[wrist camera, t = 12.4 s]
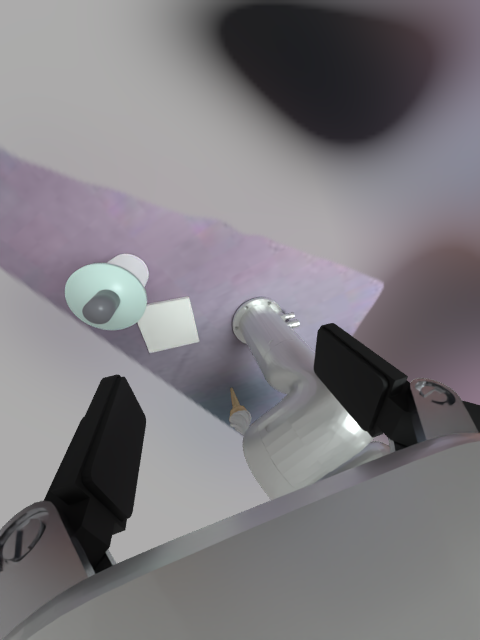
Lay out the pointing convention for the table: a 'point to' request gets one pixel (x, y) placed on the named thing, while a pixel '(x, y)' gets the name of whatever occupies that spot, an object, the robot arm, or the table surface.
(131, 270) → the can
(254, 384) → the table surface
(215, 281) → the table surface
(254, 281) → the table surface
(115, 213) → the table surface
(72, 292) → the lid
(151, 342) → the mat
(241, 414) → the ice cream cone
